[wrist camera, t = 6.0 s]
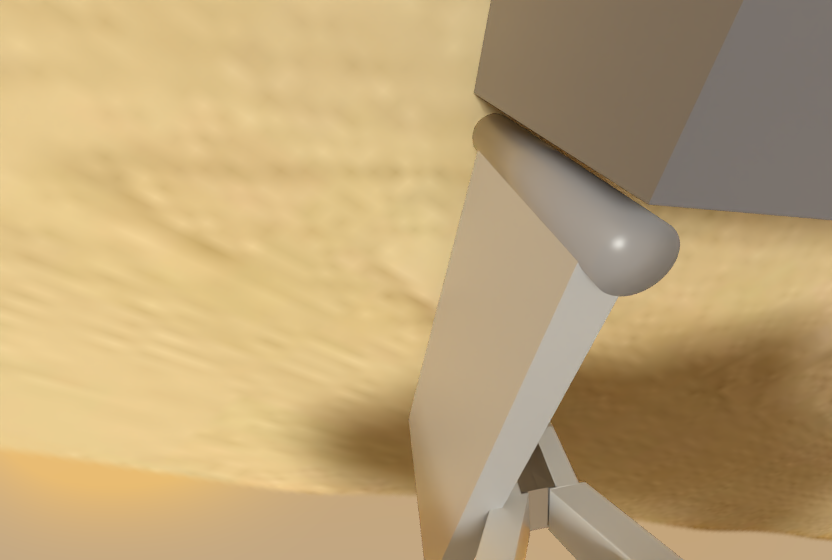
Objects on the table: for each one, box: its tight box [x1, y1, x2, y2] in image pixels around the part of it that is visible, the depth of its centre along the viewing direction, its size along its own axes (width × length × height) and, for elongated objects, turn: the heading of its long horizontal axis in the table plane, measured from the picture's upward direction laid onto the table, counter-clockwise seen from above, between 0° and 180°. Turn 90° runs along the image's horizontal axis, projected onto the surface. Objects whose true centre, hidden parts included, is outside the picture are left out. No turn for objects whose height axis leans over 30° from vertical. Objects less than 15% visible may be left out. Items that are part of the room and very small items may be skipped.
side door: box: [409, 113, 680, 560], centre depth 9 cm, size 10×1×6 cm, turn 170°
